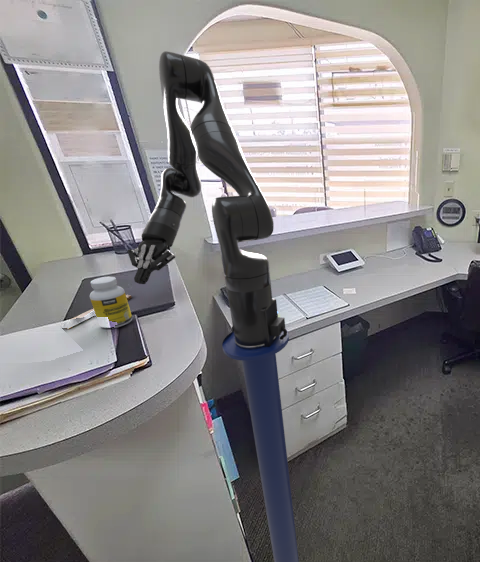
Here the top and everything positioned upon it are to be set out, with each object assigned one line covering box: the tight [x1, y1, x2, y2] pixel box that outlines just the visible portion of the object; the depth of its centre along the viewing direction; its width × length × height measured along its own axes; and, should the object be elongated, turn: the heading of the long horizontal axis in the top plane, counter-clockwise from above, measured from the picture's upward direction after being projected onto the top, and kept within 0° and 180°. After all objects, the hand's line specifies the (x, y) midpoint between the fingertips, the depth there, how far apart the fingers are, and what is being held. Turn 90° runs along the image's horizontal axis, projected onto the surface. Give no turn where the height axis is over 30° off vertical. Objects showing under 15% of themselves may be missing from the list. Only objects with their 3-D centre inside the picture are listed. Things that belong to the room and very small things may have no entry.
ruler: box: [69, 294, 133, 320], centre depth 82 cm, size 3×18×1 cm, turn 174°
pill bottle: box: [89, 276, 133, 329], centre depth 75 cm, size 6×6×12 cm
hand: (139, 282), depth 82 cm, fingers closed
